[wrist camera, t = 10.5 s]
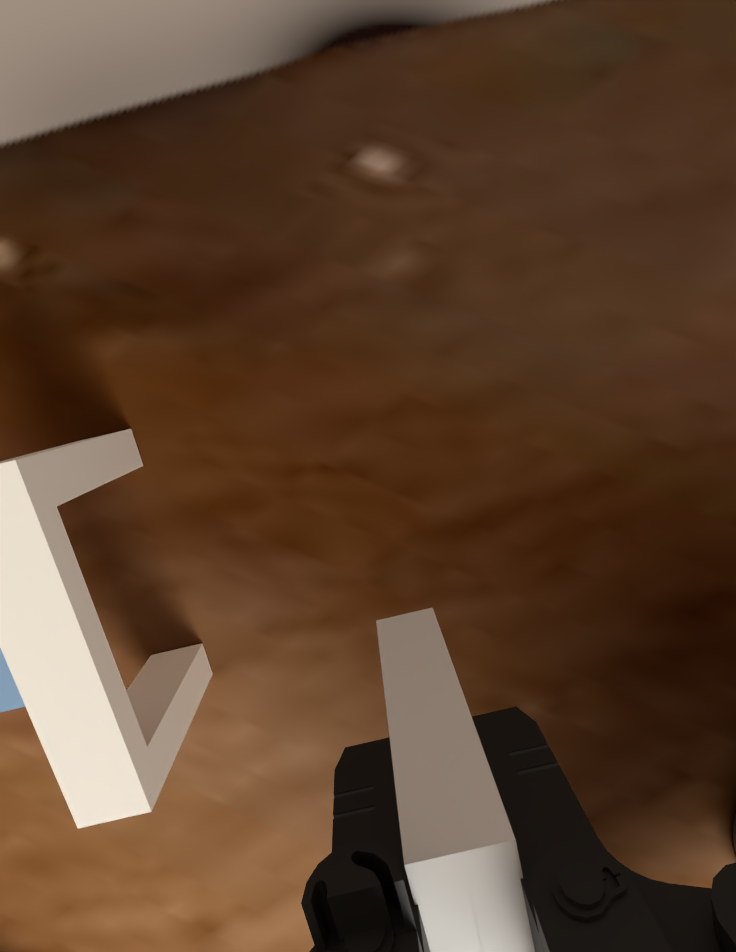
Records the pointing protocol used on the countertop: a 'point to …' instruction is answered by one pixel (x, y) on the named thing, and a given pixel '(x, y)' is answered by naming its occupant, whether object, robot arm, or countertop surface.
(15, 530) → the bridge
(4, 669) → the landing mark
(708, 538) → the countertop surface
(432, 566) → the countertop surface
